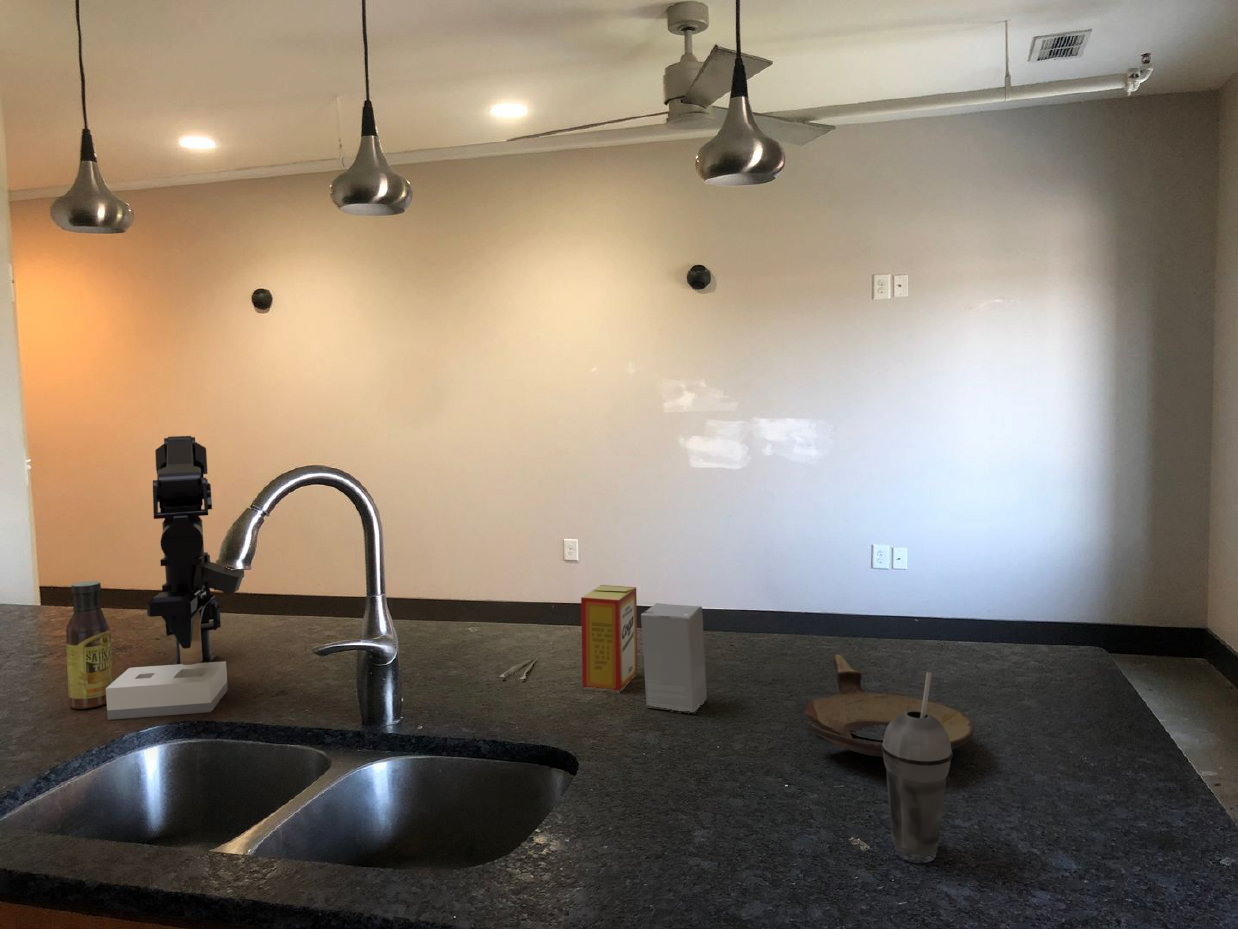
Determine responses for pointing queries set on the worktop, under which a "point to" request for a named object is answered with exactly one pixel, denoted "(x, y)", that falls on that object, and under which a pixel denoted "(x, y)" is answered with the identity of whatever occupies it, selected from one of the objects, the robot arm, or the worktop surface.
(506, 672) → the tweezers
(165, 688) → the hole block
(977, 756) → the worktop surface
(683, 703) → the skincare box
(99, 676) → the sauce bottle
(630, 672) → the baking soda box
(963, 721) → the oil lamp
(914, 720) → the beverage cup
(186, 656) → the oak peg
